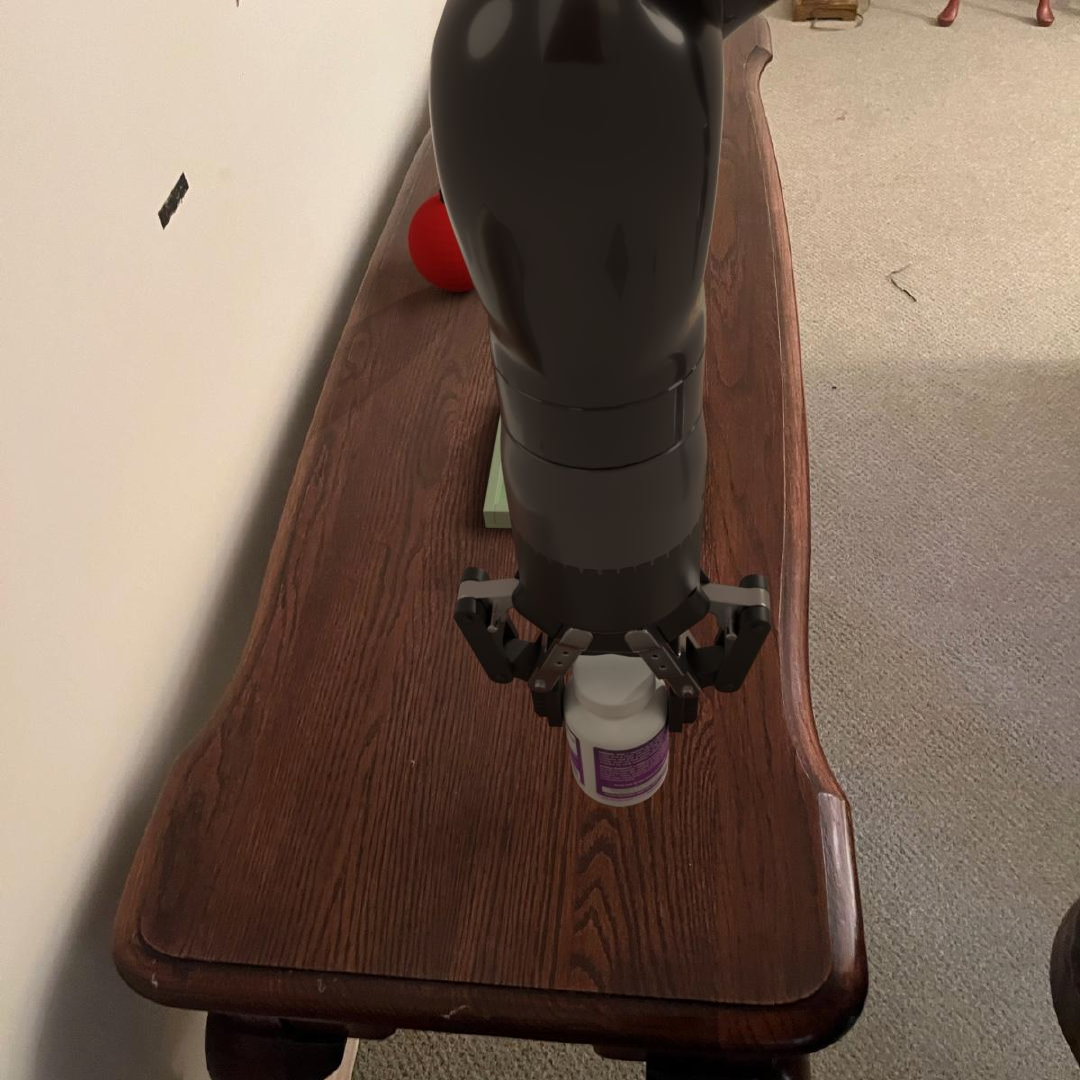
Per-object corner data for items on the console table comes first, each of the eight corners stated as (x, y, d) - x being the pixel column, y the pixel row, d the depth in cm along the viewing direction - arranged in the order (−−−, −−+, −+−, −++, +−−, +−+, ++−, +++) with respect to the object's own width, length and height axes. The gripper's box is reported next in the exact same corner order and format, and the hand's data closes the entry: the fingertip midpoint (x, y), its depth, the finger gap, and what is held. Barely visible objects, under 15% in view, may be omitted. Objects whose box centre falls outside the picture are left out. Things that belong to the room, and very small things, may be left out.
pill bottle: (684, 746, 55) (690, 649, 48) (641, 826, 52) (639, 736, 45) (599, 706, 57) (591, 607, 50) (552, 781, 54) (537, 688, 47)
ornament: (428, 254, 99) (410, 159, 91) (517, 256, 97) (507, 160, 90) (407, 310, 93) (386, 214, 85) (501, 313, 92) (489, 216, 84)
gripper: (402, 560, 36) (467, 774, 49) (806, 569, 34) (764, 789, 47) (436, 418, 41) (487, 647, 54) (792, 420, 39) (757, 657, 52)
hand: (616, 713), depth 51 cm, fingers closed on pill bottle, 5 cm apart
